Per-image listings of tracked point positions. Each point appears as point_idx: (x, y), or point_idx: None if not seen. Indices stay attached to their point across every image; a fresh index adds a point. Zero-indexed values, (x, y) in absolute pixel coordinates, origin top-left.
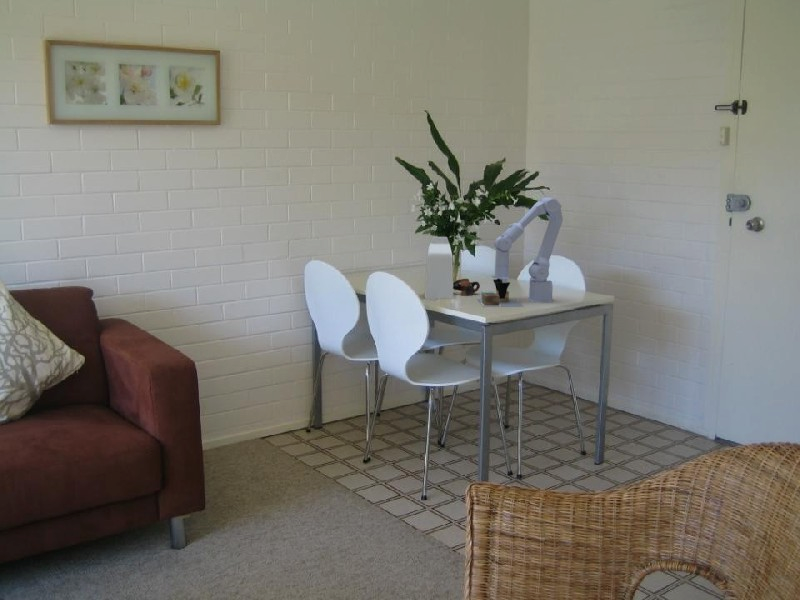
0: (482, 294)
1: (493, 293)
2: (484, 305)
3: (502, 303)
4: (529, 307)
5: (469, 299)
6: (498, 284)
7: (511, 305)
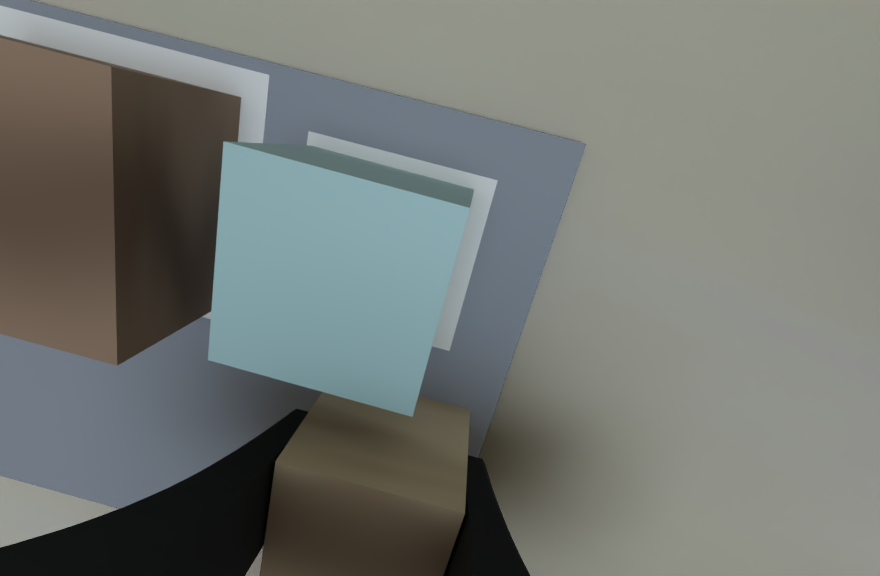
0: (123, 69)
1: (114, 308)
2: (30, 40)
3: (193, 359)
4: (39, 513)
5: (703, 59)
6: (2, 564)
7: (65, 393)
